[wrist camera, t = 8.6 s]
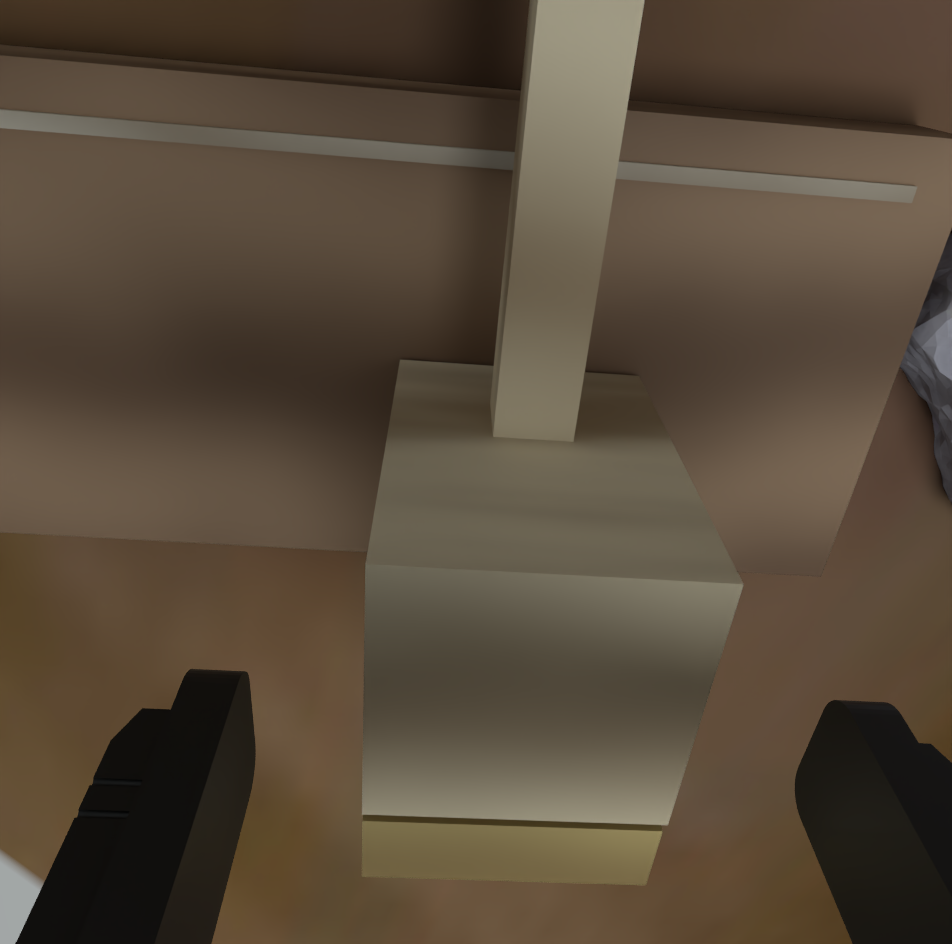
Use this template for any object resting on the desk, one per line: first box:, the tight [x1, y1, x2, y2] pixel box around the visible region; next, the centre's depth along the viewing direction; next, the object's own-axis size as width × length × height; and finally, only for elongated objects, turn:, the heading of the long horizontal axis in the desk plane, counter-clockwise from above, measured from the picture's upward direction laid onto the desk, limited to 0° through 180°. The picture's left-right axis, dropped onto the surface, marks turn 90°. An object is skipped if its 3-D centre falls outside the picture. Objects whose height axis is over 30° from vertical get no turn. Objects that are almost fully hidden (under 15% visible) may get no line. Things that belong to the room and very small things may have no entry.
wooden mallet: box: [362, 0, 744, 885], centre depth 14 cm, size 15×5×9 cm, turn 175°
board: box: [0, 45, 952, 577], centre depth 17 cm, size 10×28×2 cm, turn 85°
